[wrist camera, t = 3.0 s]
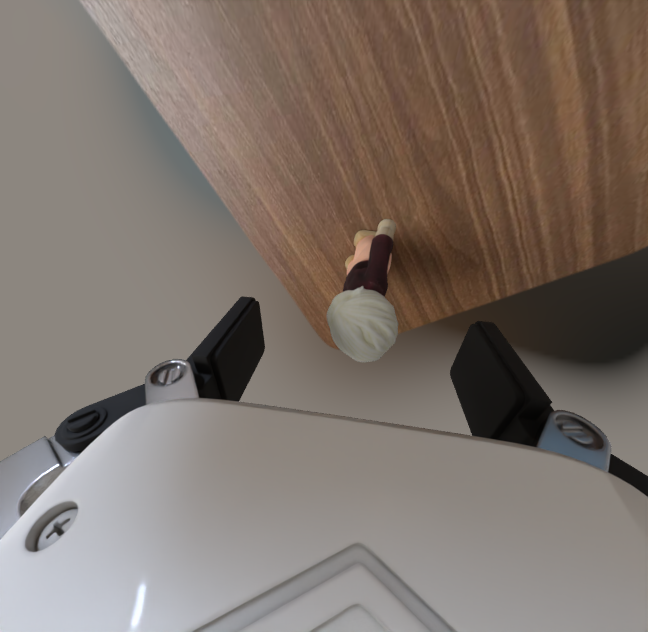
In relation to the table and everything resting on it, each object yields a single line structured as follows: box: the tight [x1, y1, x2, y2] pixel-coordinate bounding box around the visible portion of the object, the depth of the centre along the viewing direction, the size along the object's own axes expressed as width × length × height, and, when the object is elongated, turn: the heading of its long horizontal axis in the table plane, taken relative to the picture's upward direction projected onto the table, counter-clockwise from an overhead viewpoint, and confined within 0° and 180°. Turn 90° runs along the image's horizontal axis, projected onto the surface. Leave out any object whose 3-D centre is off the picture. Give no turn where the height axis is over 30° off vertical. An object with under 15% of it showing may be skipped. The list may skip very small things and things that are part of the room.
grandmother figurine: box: [327, 219, 398, 362], centre depth 16 cm, size 8×4×13 cm, turn 172°
